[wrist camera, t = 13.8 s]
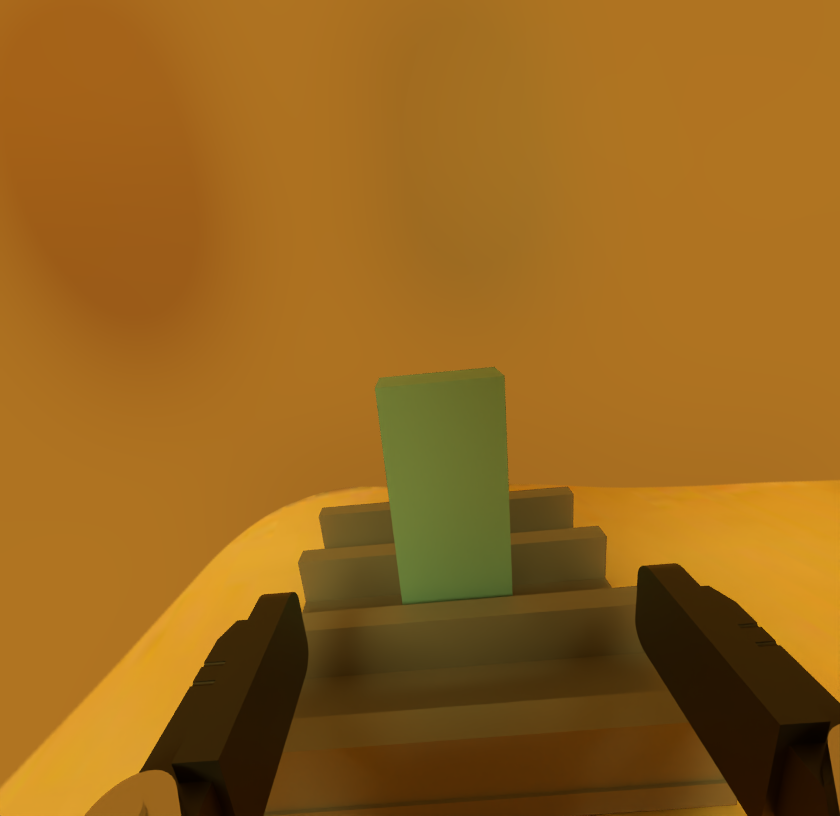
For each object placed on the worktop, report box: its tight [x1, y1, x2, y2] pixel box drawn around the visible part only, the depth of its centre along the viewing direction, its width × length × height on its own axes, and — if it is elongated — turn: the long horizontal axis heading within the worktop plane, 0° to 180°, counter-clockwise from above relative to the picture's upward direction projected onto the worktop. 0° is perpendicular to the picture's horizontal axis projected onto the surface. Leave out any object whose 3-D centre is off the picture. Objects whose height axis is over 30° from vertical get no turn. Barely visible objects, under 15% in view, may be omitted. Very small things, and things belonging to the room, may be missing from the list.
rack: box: [264, 487, 737, 816], centre depth 20 cm, size 16×15×4 cm
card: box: [375, 367, 513, 605], centre depth 18 cm, size 5×2×12 cm, turn 91°
